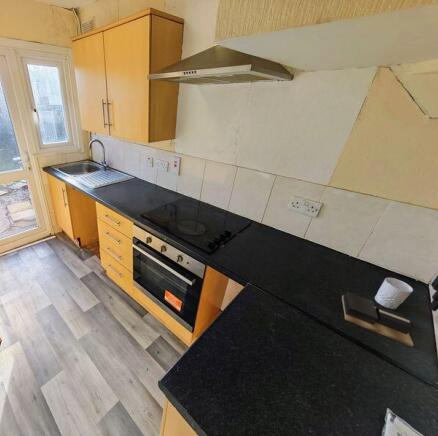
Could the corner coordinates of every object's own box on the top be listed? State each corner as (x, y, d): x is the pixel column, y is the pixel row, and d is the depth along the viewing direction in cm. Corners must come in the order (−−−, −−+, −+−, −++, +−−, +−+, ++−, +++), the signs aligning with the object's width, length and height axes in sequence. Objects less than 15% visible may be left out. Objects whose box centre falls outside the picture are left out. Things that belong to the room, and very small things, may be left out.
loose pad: (401, 322, 83) (407, 315, 81) (406, 334, 78) (412, 327, 77) (373, 312, 87) (377, 305, 85) (376, 322, 82) (381, 316, 81)
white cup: (402, 307, 91) (417, 289, 86) (392, 312, 88) (406, 294, 84) (379, 293, 97) (391, 275, 93) (368, 298, 95) (380, 280, 90)
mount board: (400, 318, 86) (406, 309, 84) (412, 346, 75) (420, 338, 73) (341, 296, 95) (346, 288, 93) (345, 319, 84) (350, 311, 82)
